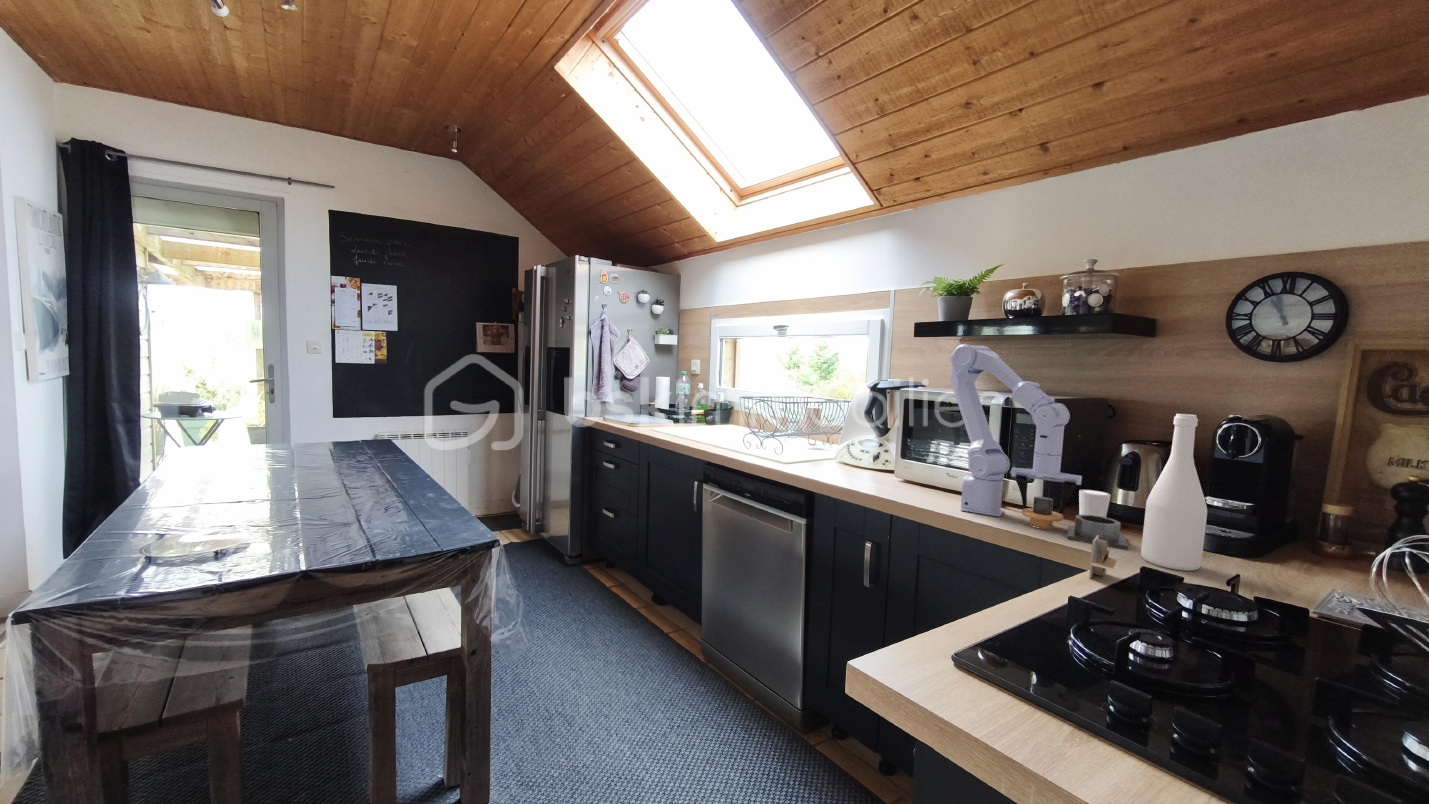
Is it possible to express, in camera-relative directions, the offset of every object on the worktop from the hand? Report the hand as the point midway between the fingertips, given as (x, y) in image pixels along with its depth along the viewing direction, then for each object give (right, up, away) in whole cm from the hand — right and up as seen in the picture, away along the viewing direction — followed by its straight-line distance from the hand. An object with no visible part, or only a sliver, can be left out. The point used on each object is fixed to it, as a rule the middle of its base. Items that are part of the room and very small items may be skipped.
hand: (1042, 509), depth 140 cm
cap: (0, -4, 0) cm, 4 cm away
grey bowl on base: (+8, -5, -8) cm, 12 cm away
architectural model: (-8, -7, -33) cm, 35 cm away
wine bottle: (+12, -7, -23) cm, 27 cm away
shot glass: (+18, -4, +10) cm, 22 cm away
